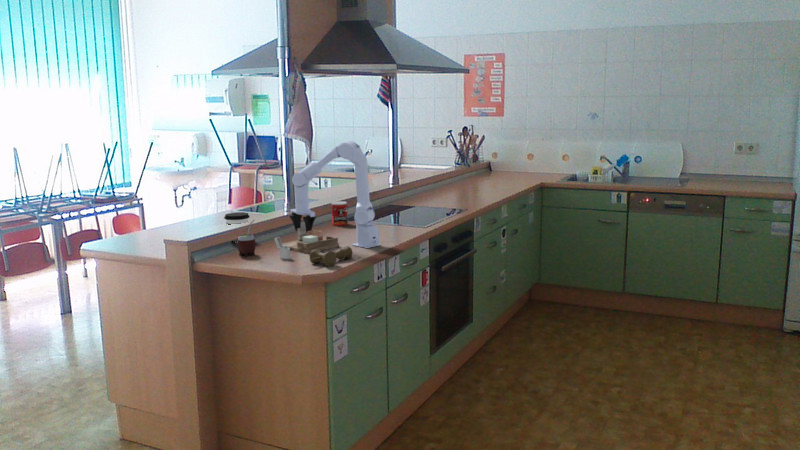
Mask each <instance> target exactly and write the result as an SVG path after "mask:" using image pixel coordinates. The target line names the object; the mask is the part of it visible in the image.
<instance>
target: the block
mask: <svg viewBox="0 0 800 450" xmlns="http://www.w3.org/2000/svg"><path fill="white" fill-rule="evenodd" d="M302 241H303V243H306V244H309V243H314V242H318V237H317V236H312V235H310V236H304V237H302Z"/></svg>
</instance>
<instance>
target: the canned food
mask: <svg viewBox="0 0 800 450" xmlns="http://www.w3.org/2000/svg"><path fill="white" fill-rule="evenodd" d="M348 219H349V218H348V202H347V201H338V200H337V201H332V202H331V223H332V226H334V227H345V226H348Z"/></svg>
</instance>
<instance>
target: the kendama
mask: <svg viewBox="0 0 800 450" xmlns="http://www.w3.org/2000/svg"><path fill="white" fill-rule="evenodd" d="M353 254H354V253H353V250H352V248H351V247H350V246H348V245H347V246H344V247H343V248H338V249H336V250H335V251H333V250H330V251H327V252H325V253H323V252H322V251H321V250H320V251H319V250H318V249H315V250H312V251H311V253H309V261H310V263H311V264H313V263H316V264H318V263H323V264H324V265H325V266H326V267H327V266H331V267H333V265H334V266H335V264H336V263H337V259H338V260H344V259H348V260H350V259H353V258H352V257H353Z"/></svg>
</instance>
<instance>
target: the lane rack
mask: <svg viewBox="0 0 800 450" xmlns="http://www.w3.org/2000/svg"><path fill="white" fill-rule="evenodd" d="M281 243H282V242H281ZM282 245H287V248H290V251H294V252H298V253H301V254H310V253H311V251H312V250H315V249H318V250H320V251H324V249H325V250H329V249H333V248H338V247H340V244H339V238H338V237H335V236H329V235H326V238H325V239H323V241H321V240H318V242H314V243H309V244H306V243H303V241H302V240H298V239H297V240H291V241H288V242H283V243H282Z"/></svg>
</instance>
